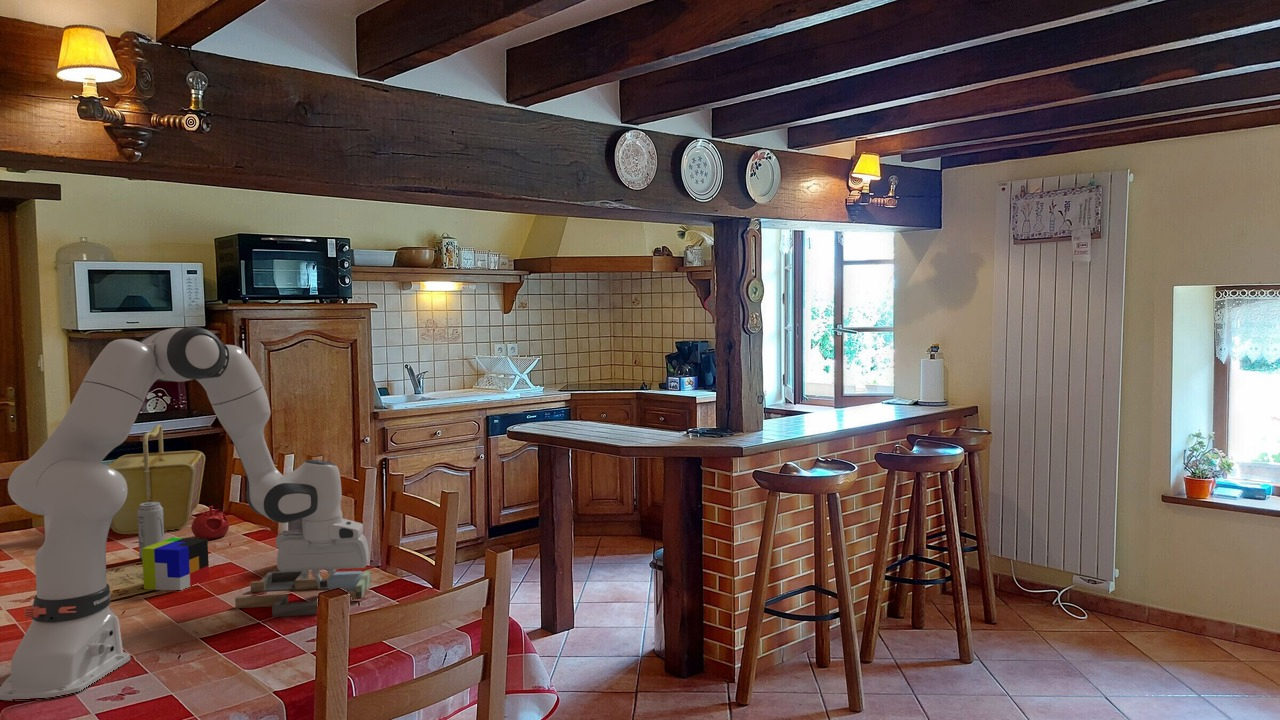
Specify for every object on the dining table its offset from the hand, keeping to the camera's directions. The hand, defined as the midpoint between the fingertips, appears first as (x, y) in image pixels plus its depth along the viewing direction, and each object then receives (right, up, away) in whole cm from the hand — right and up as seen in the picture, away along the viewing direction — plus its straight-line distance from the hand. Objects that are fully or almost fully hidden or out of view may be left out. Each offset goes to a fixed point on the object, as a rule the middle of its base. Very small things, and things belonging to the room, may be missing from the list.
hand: (324, 587), depth 203 cm
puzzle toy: (-40, -2, +10) cm, 41 cm away
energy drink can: (-58, -1, +31) cm, 66 cm away
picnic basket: (-78, +1, +71) cm, 106 cm away
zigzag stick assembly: (-5, -2, -1) cm, 5 cm away
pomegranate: (-53, +1, +53) cm, 75 cm away
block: (+5, -2, 0) cm, 5 cm away
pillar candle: (-14, 0, +26) cm, 30 cm away
